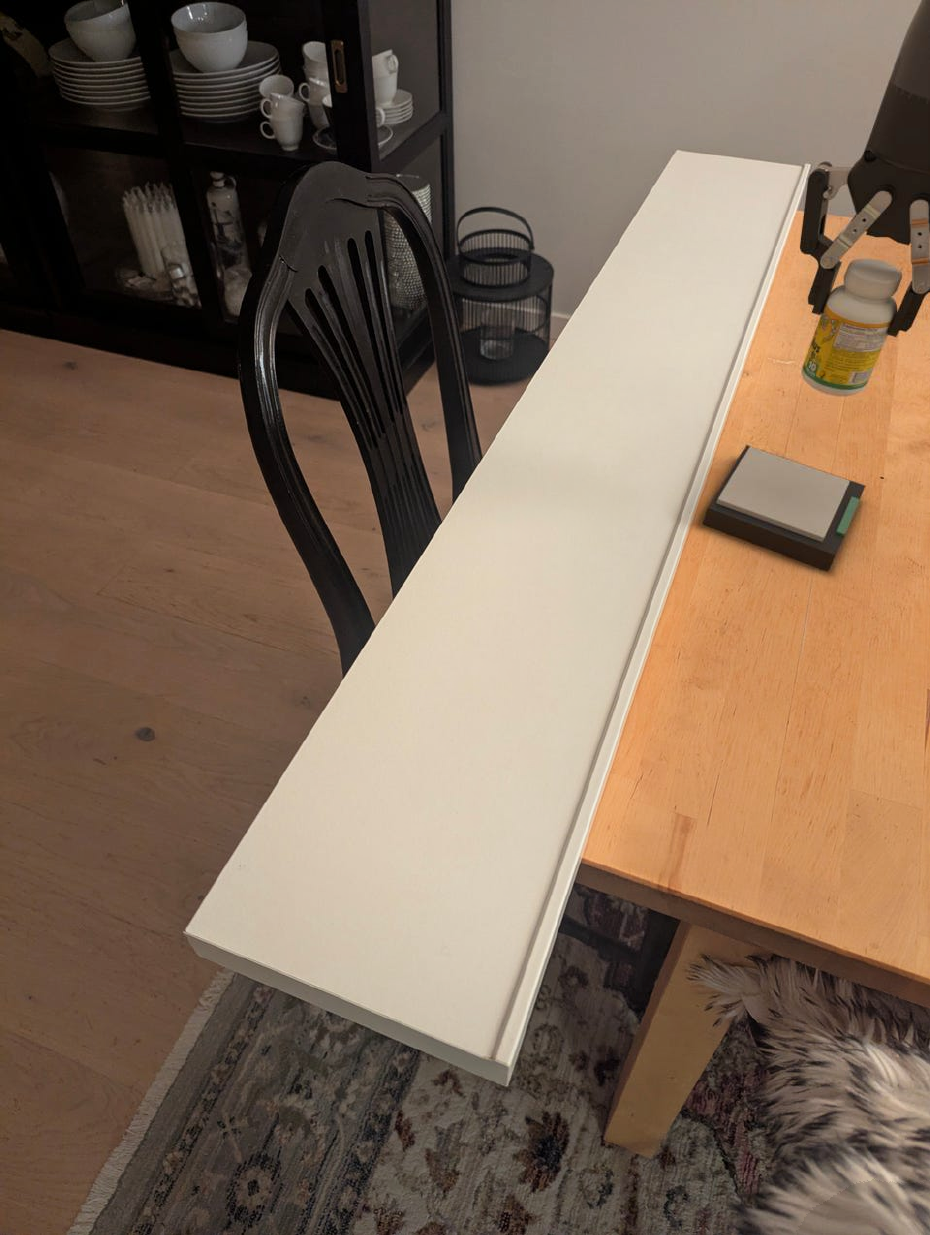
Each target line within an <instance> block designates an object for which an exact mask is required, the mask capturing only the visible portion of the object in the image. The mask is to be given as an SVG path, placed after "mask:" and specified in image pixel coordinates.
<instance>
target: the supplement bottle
mask: <svg viewBox="0 0 930 1235" xmlns="http://www.w3.org/2000/svg"><path fill="white" fill-rule="evenodd" d="M842 278H843V284H841V285H838V286H837V287H835V288H833V289H832V291H831V293H830V294H829V295H828V298H827V300H826V302H825V305H824V308H823V311H822V313H821V315H819V320H818V323H817V325H816V328H815V330H814V333H813V336H812V339H811V342H810V344H809V346H808V350H807V353H806V356H805V358H804V360H803V364H802V367H801V377H802V380H804V382H805V383H806V384H807V385H808V386H809V387H810V388H811V389H814V390H815V391H818V392H820V393H821V394H825V395H828V396H833V397H843V398H845V397H852V396H856V395H858V394H860V393H862V392H863V391H864V390H865V388H866V387H867V385H868V383H869V381H870V378H871V376H872V374H873V371H874V369H875V366H876V364H877V361H878V359H879V357H880V354H881V352H882V349H883V348H884V346H885V343H886V341H887V338H888V336H889V335H888V332H889V330H890V328H891V325H892V323H893V321H894V318H895V316H896V314H897V311H898V304H897V302H896V299H895V298H894V297H893V296H895V294H896V293H897V292H898V290H899V287H900V284H901V281H902V280H903V273H902V271H901V270H900V269H899V268H898V267H896V266H895V265H893V264H891V263H888V262H885V261H883V260H879V259H873V258H857V259H853V260H851V261H850V262H849V264H848V266H847V268H846V270H845V273H844V275H843V277H842Z"/></svg>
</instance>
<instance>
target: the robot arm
mask: <svg viewBox="0 0 930 1235" xmlns="http://www.w3.org/2000/svg"><path fill="white" fill-rule="evenodd" d="M845 185H847V188H848V192H849V195H850V199H851V203H852V205H853V208H854V213H855V215H853V217H852V218H851V219H850V220H849V221H848V222H847V224H846V226H845V227H844V228H843V229H842V230H841V231H840V233H838V235H837V236H836V237H835V238H834V239H833V240H832V239H830V238H829V237H828V236H827V235H825V230H826V223H827V216H828V209H829V202H830V201H831V200H833V199H834V198H835V197H836V196H837V195H838V193H839V192H840V189H841V187H842V186H845ZM864 234H865V235H866V236H869V237H873V238H889V239H891V240H892V241H894V242H896V243H897V244H899V245H900V244H901V245H905V246H910V263H911V275H912V276H911V280H910V283H909V284H908V286H907V288H906V291H905V292H904V295H903V298H902V300H901V302H900V304H899V306H898V308H897V314H896V316H895V318H894V321H893V323H892V325H891V328H890V330H889V332H888V336H890V337H893V338H898V336H899V333H900V331H901V332H905V333H907V332H908V331H909V330H910V329H911V328H912V327H913V324H914V322H915V320H916V317H917V315H918V313H919V311H920V310H921V307H922V305H923V302H924V300H925V298H926V296H927V295H928V294H929V293H930V0H920V2H919V4H918V7H917V9H916V11H915V13H914V15H913V17H912V19H911V22H910V23H909V26H908V27H907V29H906V32H905V35H904V38H903V40H902V43H901V45H900V49H899V51H898V55H897V58H896V61H895V63H894V65H893V69H892V71H891V73H890V78H889V80H888V82H887V86H886V88H885V90H884V93H883V97H882V100H881V103H880V105H879V108H878V111H877V113H876V117H875V119H874V123H873V125H872V128H871V131H870V134H869V137H868V140H867V142H866V145H865V148H864V150H863V153H862V155H861V157H860V158H859V159H858V160H857V161H856V162H855V163H854V165H853V166H833V164H832V163H831V162H830V161H821V162H820V163H819V164H818V165H817V166H816V167H815V168H814V170H812V172H811V173H810V174H809V176H808V178H807V186H806V194H805V202H804V209H803V218H802V224H801V234H800V242H799V250H800V252H801V253H802V254H803V255H805V256H807V255H808V256H809V255H810V256H811V257H812V258H813V259H815V260H816V262H817V270H816V273H815V276H814V279H813V281H812V284H811V287H810V290H809V293H808V295H807V305H810V306H812V310H811V314H814V315H818V316H821V314H822V311H823V308H824V305H825V302H826V300H827V298H828V295H829V294H830V293H831V291H832V290H833V289H834V285H835V282H836V280H837V277H838V274H839V271H840V268H841V266H842V263H843V261H840V260H841V259H842V258H843V257H844V256H845V254H846V253H847V252H848V251H849V250H850V249H851V248H852V247H853V246H854V245H855V244H856V243H857V242H858V240H859V239H860V238H861V237H862V236H863V235H864Z"/></svg>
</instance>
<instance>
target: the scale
mask: <svg viewBox="0 0 930 1235" xmlns="http://www.w3.org/2000/svg"><path fill="white" fill-rule="evenodd" d="M865 489H866V485H865V484H862V483H859V482H856V481H854V480H851V479H847V478H845V477H842V476H839V475H836V474H833V473H831V472H827V471H824V470H821V469H818V468H815V467H813V466H809V465H807V464H804V463H800V462H799V461H795V460H792V459H790V458H786V457H783V456H780V455H777V454H774V453H772V452H768V451H766V450H763V449H760V448H757V447H754V446H751V445H749V444H746V445H745V447H744V448H743V450H742V451H741V453H740V454H739V456H738V458H737V460H736V461H735V462H734V464H733V466H732V467H731V469H730V471H729V472H728V474H727V475H726V477H725V478H724V480H723V482H722V484H720V486H719V489H718V490H717V491H716V493H715V495H714V496H713V498H712V499H711V501H710V503H709V504H708V506H707V508H706V510H705V514H704V517H703V520H702V525H705V526H707V527H709V528H712V529H715V530H717V531H720V532H722V533H726V534H728V535H731V536H734V537H736V538H738V539H741V540H744V541H746V542H750V543H752V544H754V545H757V546H759V547H762V548H765V549H769V550H770V551H772V552H773V551H774V552H776V553H779V554H781V555H783V556H786V557H789V558H791V559H794V560H797V561H800V562H802V563H805V564H807V565H810V566H813V567H815V568H818V569H821V570H823V571H826V572H829V571H830V569H831V567H832V565H833V562H834V561H835V558H836V556H837V554H838V552H839V550H840V547H841V545H842V542H843V540H844V538H845V536H846V533H847V531H848V529H849V527H850V524H851V522H852V520H853V517H854V515H855V512H856V511H857V508H858V505H859V503H860V501H861V498H862V496H863V493H864V491H865Z"/></svg>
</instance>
